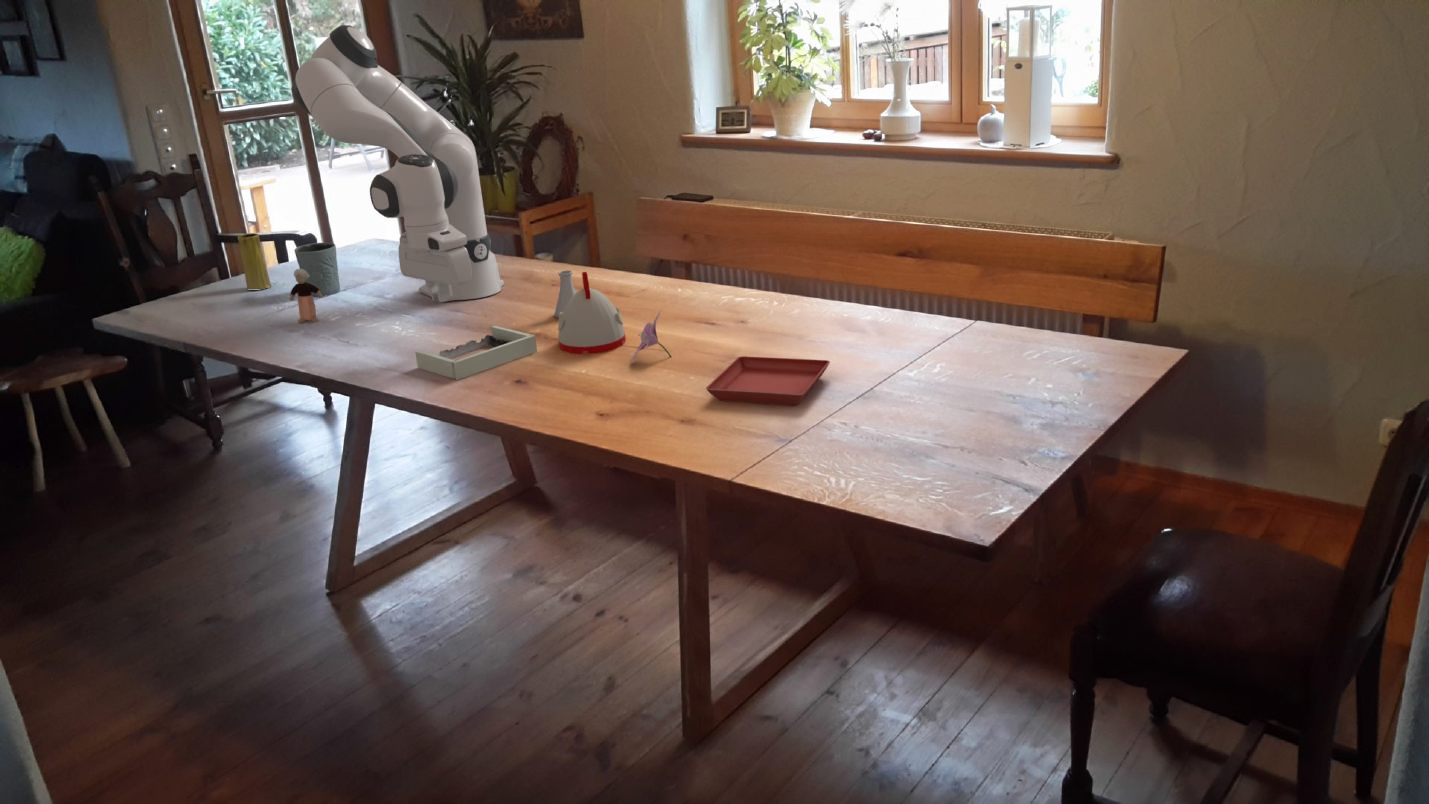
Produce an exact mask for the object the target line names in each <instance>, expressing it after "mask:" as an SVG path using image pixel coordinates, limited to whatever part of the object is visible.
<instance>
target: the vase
mask: <svg viewBox="0 0 1429 804" xmlns="http://www.w3.org/2000/svg"><path fill="white" fill-rule="evenodd" d="M260 239H261V238H260V235H259V234H258V233H254V232H252V233H251V232H250V233H244V234H240V235H237V240H238V244H239V250H240V255H241V256H240V257H241V260H242V265H243V271H244V277H245V283H246V290H247V289H264V288H268V287H269V286H271V287H272V284H271V280H270V277H269V273H268V269H267V266H266V265H267V264H266V262H265V258H264V254H263V248H262V245H261V244H262V243H261V240H260ZM268 289H269V288H268Z"/></svg>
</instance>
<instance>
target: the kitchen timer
mask: <svg viewBox="0 0 1429 804" xmlns="http://www.w3.org/2000/svg"><path fill="white" fill-rule="evenodd" d="M588 275H589V274H588V273H587V271H582V272H581V276H582V285H583V288H582V289H580V290H578V291H576V294H574V295H573V296H572V298H571V299H570V300H569V302H568V303H567V305H566V307H565V309H564V312H560V313H559V317H558V327H557V331H558V337H557V339H558V347H560V348H559V349H560V351H562V350H563V352H565V353H568V354H572V353H573V354H572V355H593V354H601V353H607V352H611V351H613V350H616V349H618V348H620V347H622V346H624V344H625V343H626V340H627V339H626V338H627V337H626V331H625V327H624V322H623V321H624V320H623V317H622V315H621V311H620V309H619V306H617V305H615V306H614V304H613V303H612V302H611V300H610V299H609V298H608V297H607V296H606V295H605V294H603V293H602V292H601V291H600V290H597V289H594V288H591V287H590V283H589V277H588Z"/></svg>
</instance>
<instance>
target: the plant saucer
mask: <svg viewBox="0 0 1429 804" xmlns="http://www.w3.org/2000/svg"><path fill="white" fill-rule="evenodd" d="M829 365H830V360H828V359H809V358H808V359H807V358H806V359H805V358H804V359H803V358H790V357H788V358H786V357H785V358H783V357H765V356H748V355H747V356H745V355H744V356H738V357H737V358H736V359H735V360H733V361H732V363H731V364H729V365H728V366H727V367H726V368H725V369H724V370H722V372H721V373H720V374H719V375H717V376H716V378H715V379H714V380H712V381H711V382H710V383H709V384H708V385H707V386H706V388H705V390H706V391H707V392H709V394H710V395H711V396H713V397H714V398H716V399H717V400H718V401H722V402H734V403H749V404H762V405H776V406H791V407H795V406H796V407H797V406H798V405H799V404H800V403H801V401H802V400H803V398H805V396H807V394H808V393H809V391H810V390H812V388H813V387H814V386H815V384H816V383H817V382H818V381H819V379H821V377H822V376H823V374H824V373H825V371H826V370H827V368H828V367H829Z"/></svg>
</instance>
